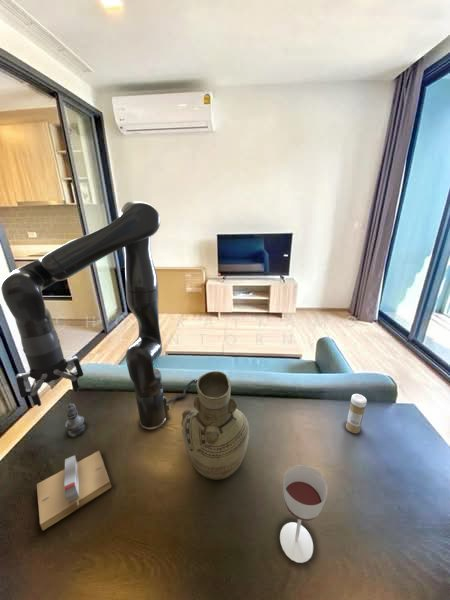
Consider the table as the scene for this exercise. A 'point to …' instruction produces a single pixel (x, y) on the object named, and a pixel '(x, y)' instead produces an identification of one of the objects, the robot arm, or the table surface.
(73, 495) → the white rectangular block
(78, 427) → the grey stone statuette
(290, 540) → the wineglass
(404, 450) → the table surface
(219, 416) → the ceramic vessel
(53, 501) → the base
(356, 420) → the sprinkles bottle
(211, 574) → the table surface
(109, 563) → the table surface
